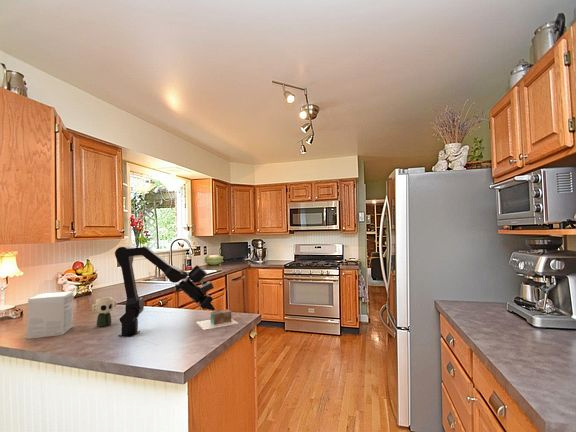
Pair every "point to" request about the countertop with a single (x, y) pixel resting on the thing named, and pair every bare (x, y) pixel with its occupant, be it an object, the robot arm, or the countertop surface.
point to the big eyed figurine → (104, 310)
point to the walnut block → (220, 317)
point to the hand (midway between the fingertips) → (214, 309)
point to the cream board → (209, 325)
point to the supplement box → (49, 314)
